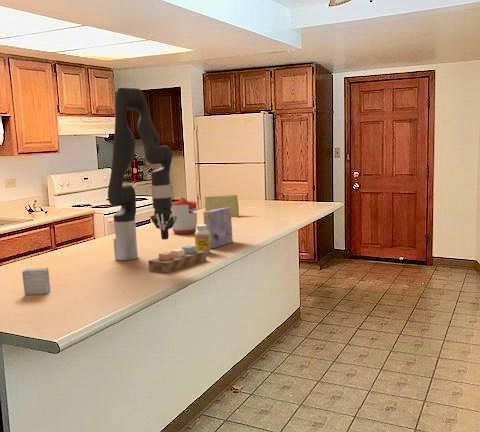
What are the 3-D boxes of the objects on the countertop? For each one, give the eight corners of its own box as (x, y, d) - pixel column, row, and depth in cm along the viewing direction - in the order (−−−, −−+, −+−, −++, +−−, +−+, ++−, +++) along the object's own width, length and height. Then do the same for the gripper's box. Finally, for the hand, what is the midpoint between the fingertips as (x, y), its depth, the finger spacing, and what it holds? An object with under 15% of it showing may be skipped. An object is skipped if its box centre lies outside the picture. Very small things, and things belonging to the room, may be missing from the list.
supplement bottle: (197, 255, 243) (195, 226, 241) (194, 252, 249) (193, 224, 247) (211, 253, 245) (210, 225, 243) (208, 250, 251) (207, 223, 249)
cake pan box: (226, 241, 273) (224, 206, 270) (234, 241, 270) (232, 206, 268) (204, 248, 257) (202, 211, 254) (213, 249, 254) (211, 212, 251)
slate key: (189, 257, 227) (189, 248, 227) (182, 256, 230) (182, 247, 229) (196, 255, 230) (195, 246, 230) (189, 254, 233) (188, 245, 232)
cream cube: (178, 260, 222) (177, 251, 221) (171, 260, 224) (170, 250, 223) (184, 258, 225) (184, 249, 224) (177, 258, 227) (177, 248, 227)
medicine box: (51, 290, 195) (48, 267, 193) (47, 294, 190) (44, 270, 189) (28, 292, 194) (26, 268, 193) (24, 295, 190) (21, 271, 189)
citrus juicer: (187, 236, 291) (185, 199, 288) (164, 233, 302) (162, 198, 299) (206, 231, 303) (204, 196, 301) (184, 229, 314) (181, 195, 311)
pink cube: (166, 264, 216) (165, 254, 215) (159, 263, 218) (158, 253, 218) (173, 262, 219) (172, 252, 219) (166, 261, 222) (165, 251, 221)
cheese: (241, 216, 356) (240, 193, 353) (235, 218, 347) (234, 195, 345) (211, 215, 364) (210, 193, 362) (204, 218, 356) (203, 195, 353)
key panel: (166, 273, 212) (166, 263, 212) (149, 270, 218) (148, 260, 218) (206, 260, 231) (205, 251, 231) (188, 258, 237) (188, 249, 237)
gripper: (180, 195, 214) (183, 238, 216) (156, 195, 222) (159, 236, 224) (167, 197, 208) (170, 242, 210) (143, 197, 216) (146, 239, 218)
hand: (165, 239), depth 217 cm, fingers closed
